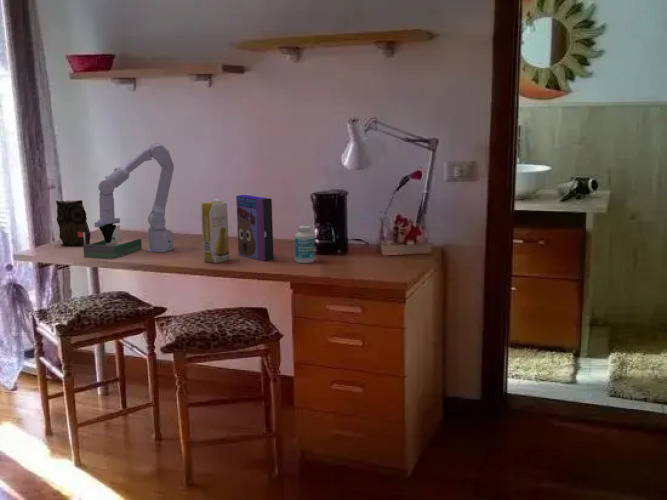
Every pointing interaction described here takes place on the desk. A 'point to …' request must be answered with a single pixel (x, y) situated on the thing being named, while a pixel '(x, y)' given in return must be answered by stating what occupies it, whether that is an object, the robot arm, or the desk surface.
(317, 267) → the desk surface
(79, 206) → the owl
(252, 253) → the cereal box
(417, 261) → the desk surface
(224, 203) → the juice carton
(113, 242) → the golf ball
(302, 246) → the pill bottle
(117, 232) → the grey cup
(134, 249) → the putting green
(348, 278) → the desk surface
